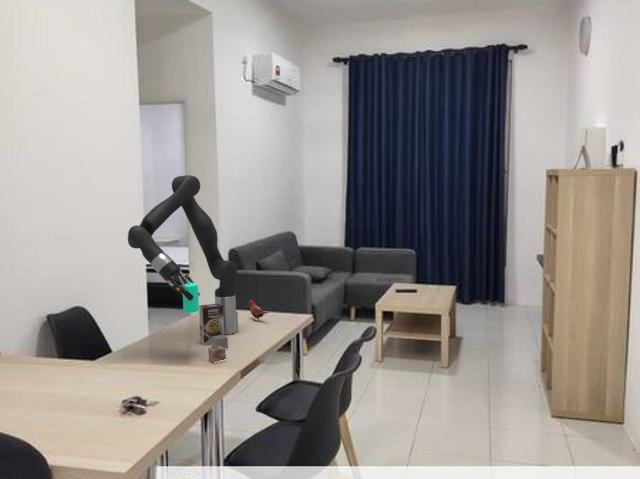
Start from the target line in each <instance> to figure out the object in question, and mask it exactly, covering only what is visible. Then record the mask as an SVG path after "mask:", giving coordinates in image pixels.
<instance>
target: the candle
mask: <svg viewBox="0 0 640 479" xmlns="http://www.w3.org/2000/svg"><path fill="white" fill-rule="evenodd" d="M184 287H185V288H186V290H187V291H188V292H189V293H190V294H192V295H193V296H194V298H193V299H192V300H191V301H189V300H188V299H187V298H186V297H185V296H184V295H182V303H183V304H182V307H183V312H184V313H187V314H188V313H189V314H191V313H193V314H194V313H199V305H200V302H199V301H200V300H199V296H198V292H199V284H197V283H195V282H194V283H190V284H185V286H184Z"/></svg>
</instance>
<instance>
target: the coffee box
mask: <svg viewBox="0 0 640 479" xmlns="http://www.w3.org/2000/svg"><path fill="white" fill-rule="evenodd" d="M198 313H199V341H200V343H201V344H202V345H203V346H206V345H207V346H208V345H212V336H218V335H224V315H223V305H221V304H219V303H218V304H215V303H211V304H202V305H200V304H199V311H198ZM224 336H225V335H224Z"/></svg>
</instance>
